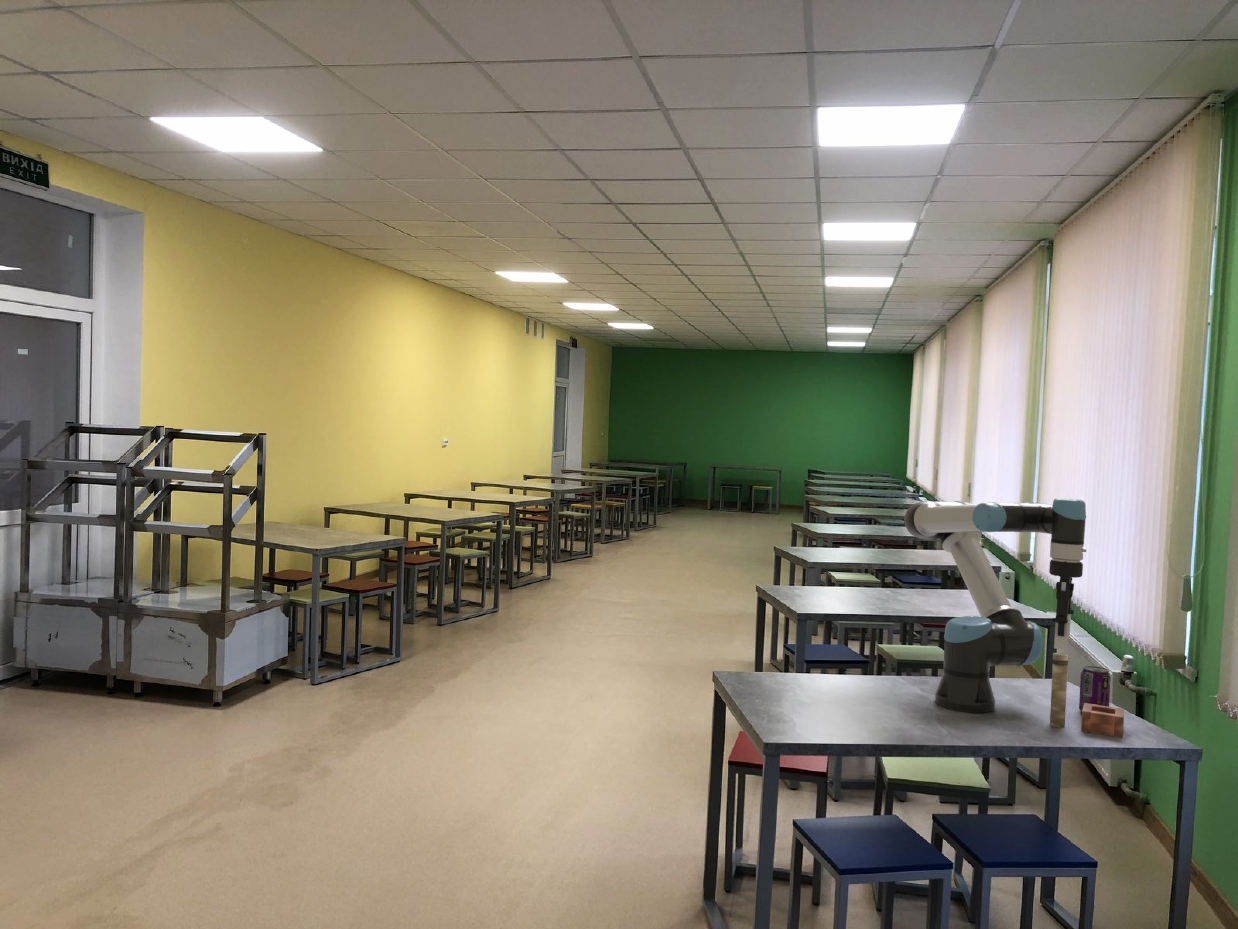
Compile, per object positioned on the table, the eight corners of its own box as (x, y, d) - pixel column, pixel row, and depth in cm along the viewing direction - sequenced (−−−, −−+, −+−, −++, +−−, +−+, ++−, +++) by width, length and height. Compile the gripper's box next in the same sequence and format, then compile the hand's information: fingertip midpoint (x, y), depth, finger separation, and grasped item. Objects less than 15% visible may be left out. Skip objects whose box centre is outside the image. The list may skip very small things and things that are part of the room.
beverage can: (1112, 718, 241) (1114, 673, 240) (1083, 716, 242) (1085, 670, 242) (1104, 711, 248) (1106, 666, 247) (1075, 708, 249) (1077, 664, 249)
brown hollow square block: (1081, 731, 229) (1082, 711, 228) (1083, 722, 236) (1084, 702, 236) (1122, 738, 224) (1123, 717, 224) (1123, 728, 232) (1124, 709, 232)
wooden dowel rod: (1048, 726, 232) (1052, 654, 231) (1050, 722, 235) (1053, 652, 235) (1064, 728, 230) (1067, 656, 230) (1065, 725, 233) (1068, 654, 233)
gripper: (1081, 566, 219) (1076, 655, 220) (1085, 556, 241) (1080, 637, 241) (1046, 563, 223) (1041, 651, 223) (1053, 554, 244) (1049, 633, 245)
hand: (1061, 644), depth 232 cm, fingers open, 13 cm apart
